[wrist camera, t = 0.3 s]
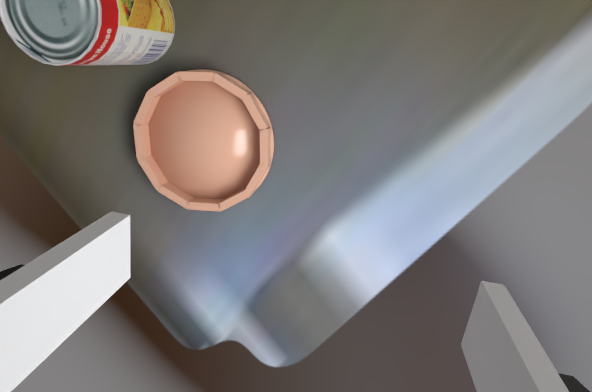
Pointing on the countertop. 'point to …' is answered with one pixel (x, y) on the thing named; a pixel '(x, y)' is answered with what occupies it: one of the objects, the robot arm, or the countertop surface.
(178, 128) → the terracotta dish
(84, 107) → the countertop surface
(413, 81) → the countertop surface
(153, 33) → the canned food
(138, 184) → the countertop surface
